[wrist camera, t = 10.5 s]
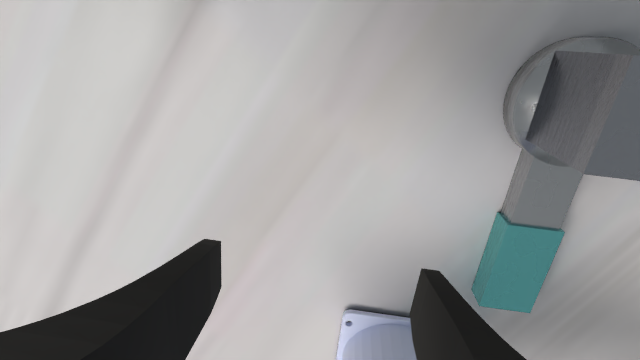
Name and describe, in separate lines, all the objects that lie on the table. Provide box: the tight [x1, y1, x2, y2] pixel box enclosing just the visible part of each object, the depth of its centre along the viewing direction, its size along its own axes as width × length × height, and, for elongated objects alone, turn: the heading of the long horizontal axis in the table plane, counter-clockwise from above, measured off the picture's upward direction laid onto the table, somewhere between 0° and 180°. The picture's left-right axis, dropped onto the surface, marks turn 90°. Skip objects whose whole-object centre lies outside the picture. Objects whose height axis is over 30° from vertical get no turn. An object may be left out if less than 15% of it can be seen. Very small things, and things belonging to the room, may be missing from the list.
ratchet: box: [472, 37, 640, 313], centre depth 19 cm, size 16×6×4 cm, turn 174°
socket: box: [525, 50, 640, 181], centre depth 15 cm, size 4×4×5 cm
